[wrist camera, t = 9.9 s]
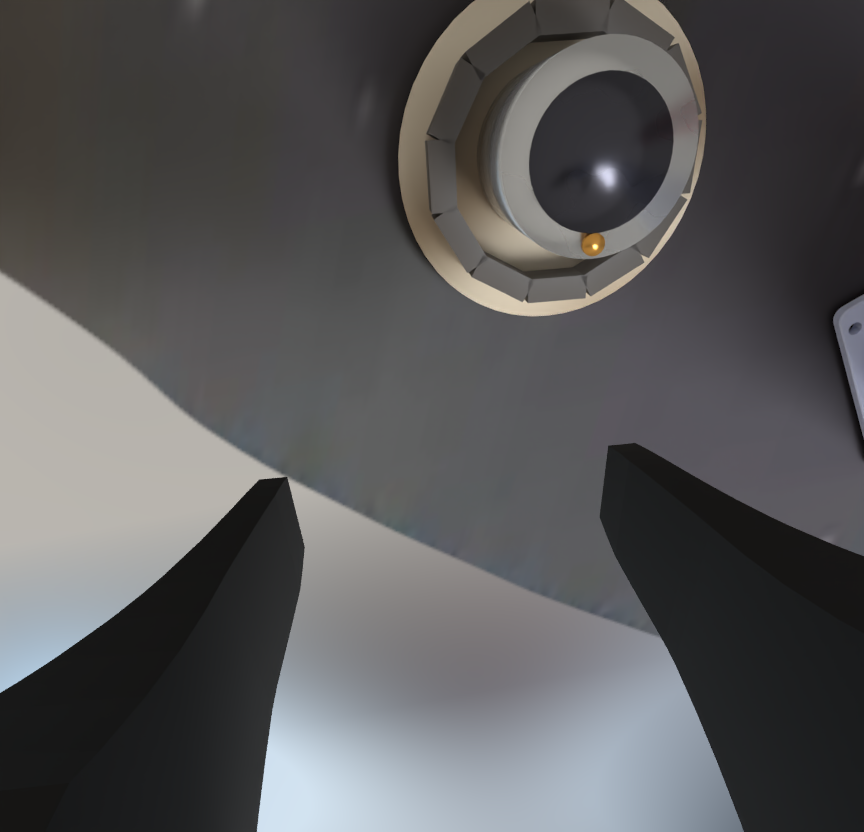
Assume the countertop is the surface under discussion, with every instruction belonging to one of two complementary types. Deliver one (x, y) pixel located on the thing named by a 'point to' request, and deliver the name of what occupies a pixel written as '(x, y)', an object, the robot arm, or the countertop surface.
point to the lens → (590, 146)
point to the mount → (458, 140)
